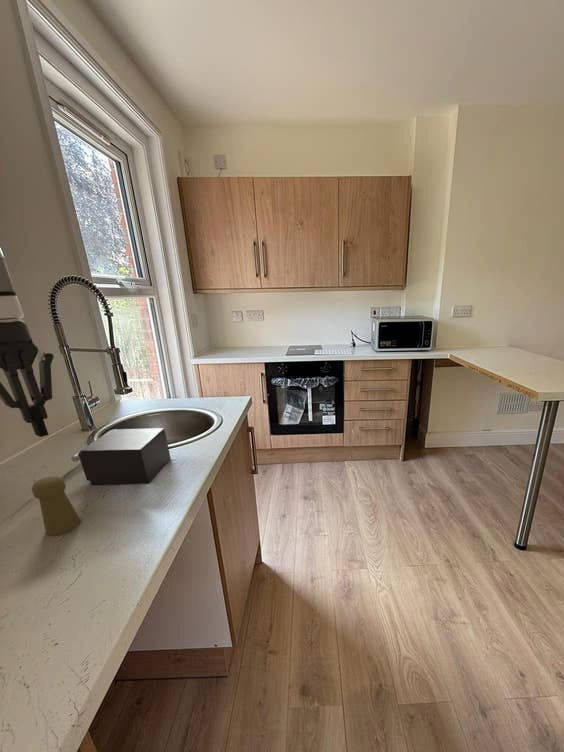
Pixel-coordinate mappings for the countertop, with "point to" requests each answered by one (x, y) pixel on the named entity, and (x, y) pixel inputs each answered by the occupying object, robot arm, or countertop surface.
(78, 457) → the drawer
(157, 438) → the cabinet
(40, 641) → the countertop surface
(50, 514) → the cork
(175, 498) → the countertop surface
